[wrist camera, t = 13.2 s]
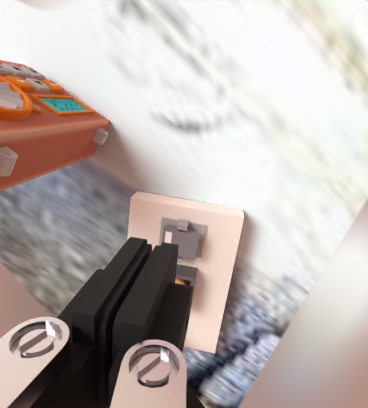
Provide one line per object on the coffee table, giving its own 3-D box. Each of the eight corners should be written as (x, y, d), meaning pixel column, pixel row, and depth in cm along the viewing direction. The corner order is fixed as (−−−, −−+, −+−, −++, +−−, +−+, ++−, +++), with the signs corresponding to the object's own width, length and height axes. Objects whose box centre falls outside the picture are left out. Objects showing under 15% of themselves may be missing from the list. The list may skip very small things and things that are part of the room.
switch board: (243, 209, 39) (245, 225, 33) (215, 338, 46) (213, 368, 40) (137, 191, 40) (123, 204, 35) (126, 318, 47) (113, 345, 42)
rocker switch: (200, 233, 36) (198, 236, 35) (196, 256, 37) (194, 260, 36) (166, 224, 37) (163, 227, 36) (163, 247, 38) (160, 251, 37)
